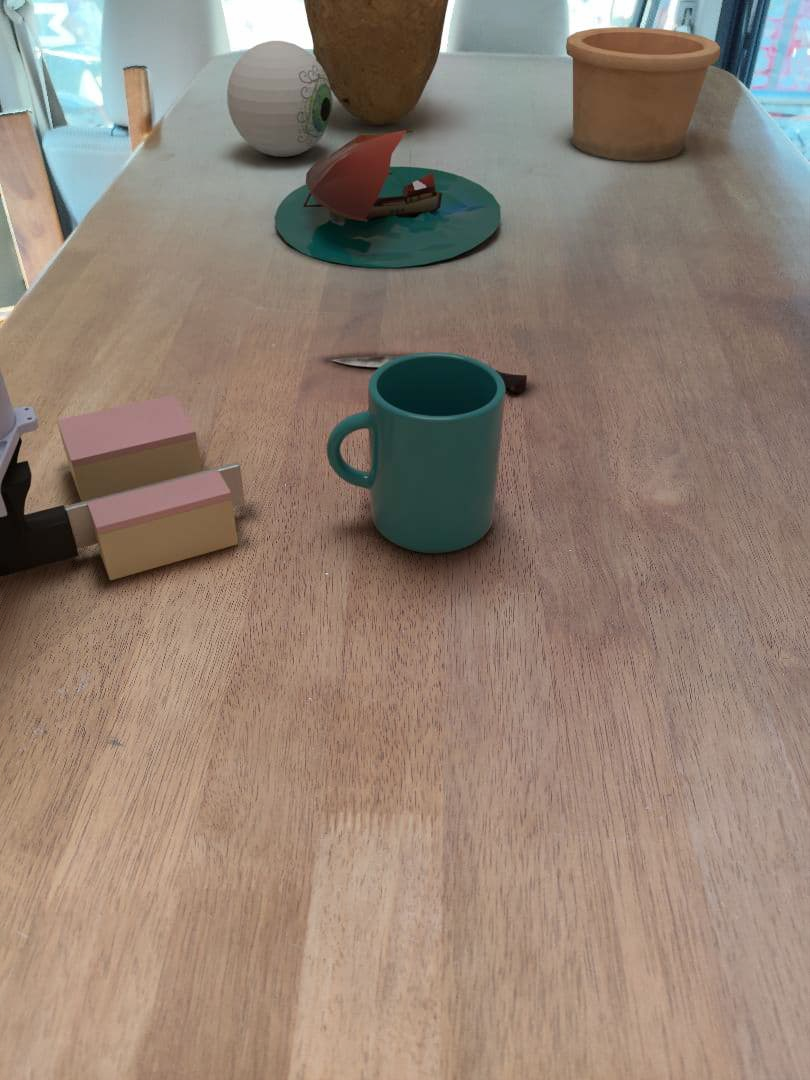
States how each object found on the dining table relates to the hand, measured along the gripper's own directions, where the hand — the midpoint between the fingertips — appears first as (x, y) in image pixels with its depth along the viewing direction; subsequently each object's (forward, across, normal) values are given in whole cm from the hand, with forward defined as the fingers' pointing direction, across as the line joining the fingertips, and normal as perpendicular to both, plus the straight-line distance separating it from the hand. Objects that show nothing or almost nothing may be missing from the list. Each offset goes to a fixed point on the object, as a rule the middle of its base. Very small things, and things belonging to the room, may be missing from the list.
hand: (6, 546), depth 59 cm
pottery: (+3, +64, -99) cm, 118 cm away
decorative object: (+3, +81, -49) cm, 95 cm away
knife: (+3, +13, -38) cm, 40 cm away
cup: (+3, -6, -27) cm, 28 cm away
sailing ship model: (+3, +49, -51) cm, 71 cm away
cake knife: (+2, 0, -6) cm, 6 cm away
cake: (+3, +8, -10) cm, 13 cm away
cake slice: (+3, -2, -10) cm, 10 cm away
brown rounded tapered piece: (+3, +90, -69) cm, 114 cm away
